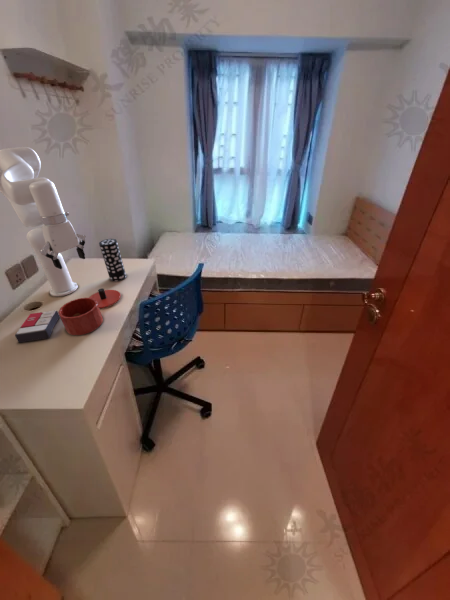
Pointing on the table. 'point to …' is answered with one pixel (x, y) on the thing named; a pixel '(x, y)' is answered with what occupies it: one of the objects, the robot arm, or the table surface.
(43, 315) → the calculator
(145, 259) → the table surface
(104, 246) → the white-spotted black cylinder
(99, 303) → the lid
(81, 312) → the pot
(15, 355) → the table surface
